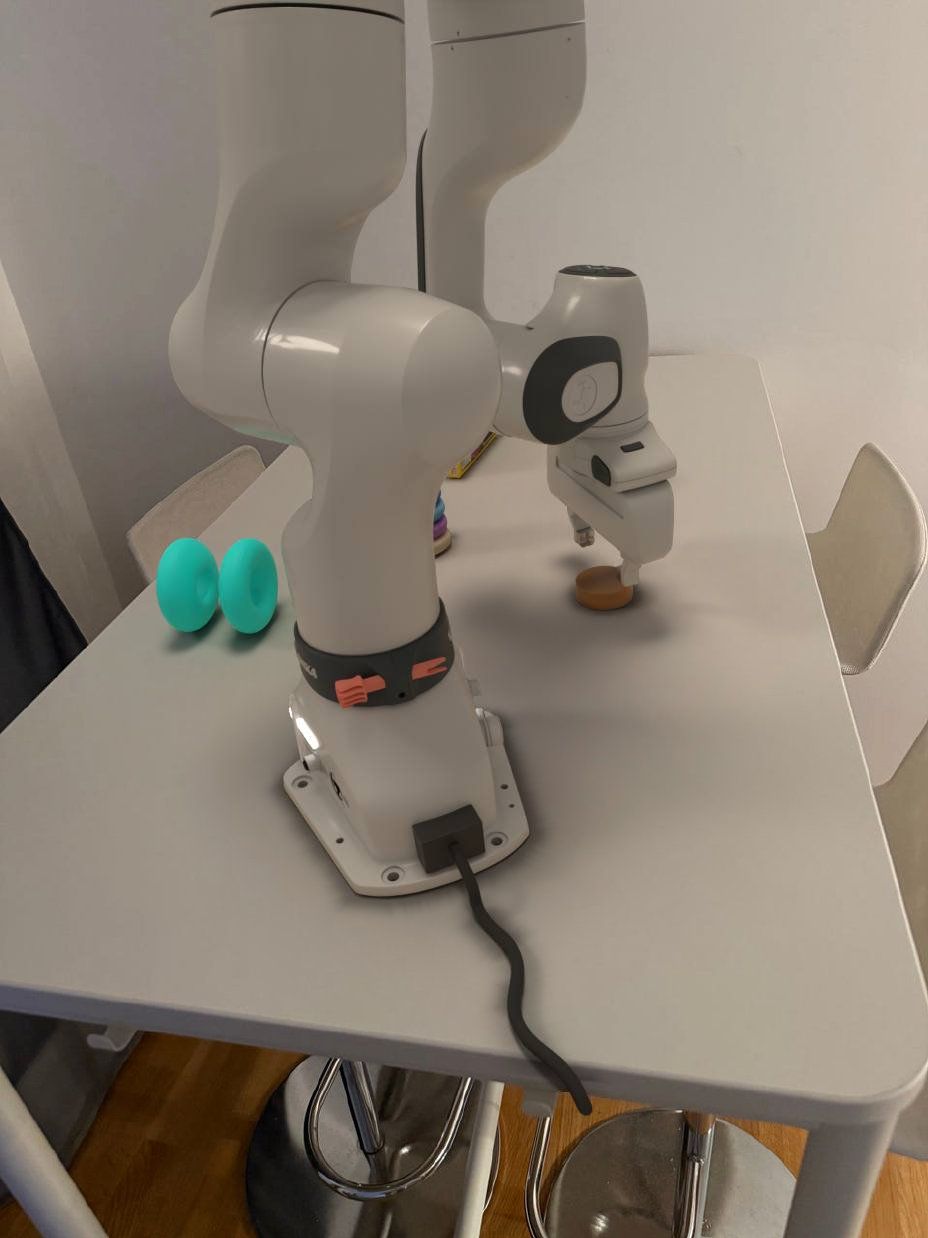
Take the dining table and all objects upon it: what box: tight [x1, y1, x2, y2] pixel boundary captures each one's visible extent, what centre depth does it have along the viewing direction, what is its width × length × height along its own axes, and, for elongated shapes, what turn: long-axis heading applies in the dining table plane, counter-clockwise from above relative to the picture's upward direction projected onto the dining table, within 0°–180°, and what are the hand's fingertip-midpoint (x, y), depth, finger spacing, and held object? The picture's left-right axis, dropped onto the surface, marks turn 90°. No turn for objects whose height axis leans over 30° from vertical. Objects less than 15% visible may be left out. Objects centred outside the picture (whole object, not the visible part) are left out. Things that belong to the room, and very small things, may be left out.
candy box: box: [448, 431, 497, 479], centre depth 132 cm, size 16×2×8 cm, turn 160°
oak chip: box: [574, 565, 634, 611], centre depth 97 cm, size 6×6×2 cm
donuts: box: [155, 537, 279, 634], centre depth 97 cm, size 10×10×10 cm
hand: (605, 562), depth 96 cm, fingers open, 8 cm apart
